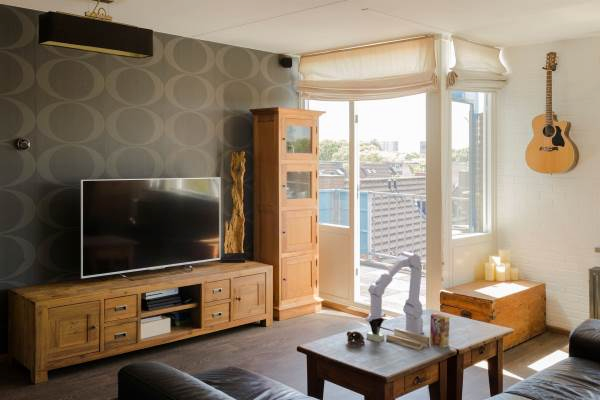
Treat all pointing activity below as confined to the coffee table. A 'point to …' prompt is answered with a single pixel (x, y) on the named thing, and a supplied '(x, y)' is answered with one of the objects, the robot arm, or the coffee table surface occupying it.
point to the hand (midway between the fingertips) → (375, 332)
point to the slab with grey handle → (375, 336)
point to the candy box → (439, 330)
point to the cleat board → (408, 339)
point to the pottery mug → (355, 338)
